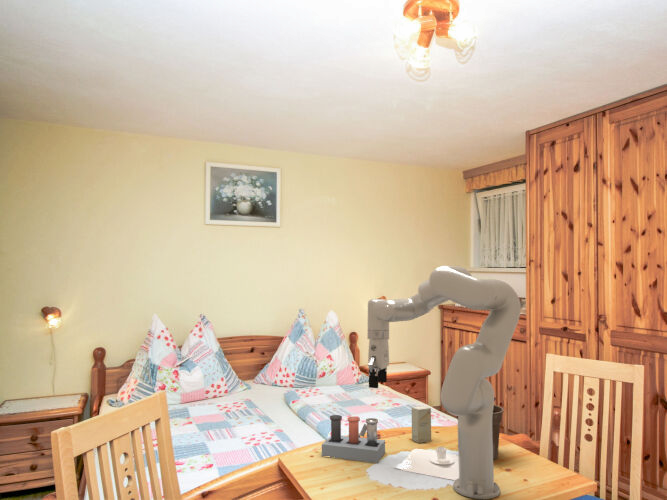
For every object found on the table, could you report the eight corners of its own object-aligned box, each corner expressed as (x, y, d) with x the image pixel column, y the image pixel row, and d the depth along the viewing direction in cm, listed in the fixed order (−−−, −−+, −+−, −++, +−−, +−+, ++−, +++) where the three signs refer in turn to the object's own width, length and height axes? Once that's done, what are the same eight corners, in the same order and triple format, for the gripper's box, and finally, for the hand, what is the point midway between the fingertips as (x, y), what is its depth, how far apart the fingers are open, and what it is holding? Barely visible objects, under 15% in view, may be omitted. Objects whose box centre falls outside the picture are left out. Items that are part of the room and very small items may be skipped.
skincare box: (418, 443, 169) (418, 409, 171) (411, 440, 173) (410, 407, 174) (432, 440, 173) (431, 407, 174) (424, 437, 176) (423, 405, 177)
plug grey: (376, 446, 154) (376, 422, 155) (364, 445, 156) (364, 420, 156) (379, 442, 158) (379, 418, 159) (367, 441, 160) (367, 417, 160)
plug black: (339, 442, 159) (339, 418, 159) (328, 441, 160) (328, 417, 161) (343, 438, 163) (343, 415, 163) (332, 437, 164) (332, 414, 165)
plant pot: (497, 447, 165) (496, 401, 166) (511, 464, 149) (509, 413, 150) (451, 446, 166) (450, 400, 168) (460, 463, 150) (458, 412, 152)
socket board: (377, 463, 150) (377, 450, 151) (321, 456, 157) (321, 444, 157) (385, 452, 161) (385, 440, 161) (332, 446, 167) (332, 434, 168)
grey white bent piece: (348, 447, 165) (348, 425, 166) (348, 446, 167) (348, 423, 168) (368, 447, 166) (368, 424, 166) (367, 445, 167) (367, 423, 168)
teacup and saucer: (450, 468, 145) (449, 455, 145) (425, 464, 149) (425, 451, 149) (457, 459, 153) (456, 446, 153) (433, 455, 157) (433, 442, 157)
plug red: (357, 444, 156) (357, 420, 157) (346, 443, 158) (346, 419, 159) (361, 440, 160) (361, 417, 161) (349, 439, 162) (349, 416, 162)
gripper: (381, 338, 151) (380, 391, 149) (395, 332, 166) (395, 381, 165) (359, 336, 154) (359, 388, 152) (375, 331, 169) (375, 379, 168)
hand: (377, 384), depth 159 cm, fingers open, 9 cm apart
